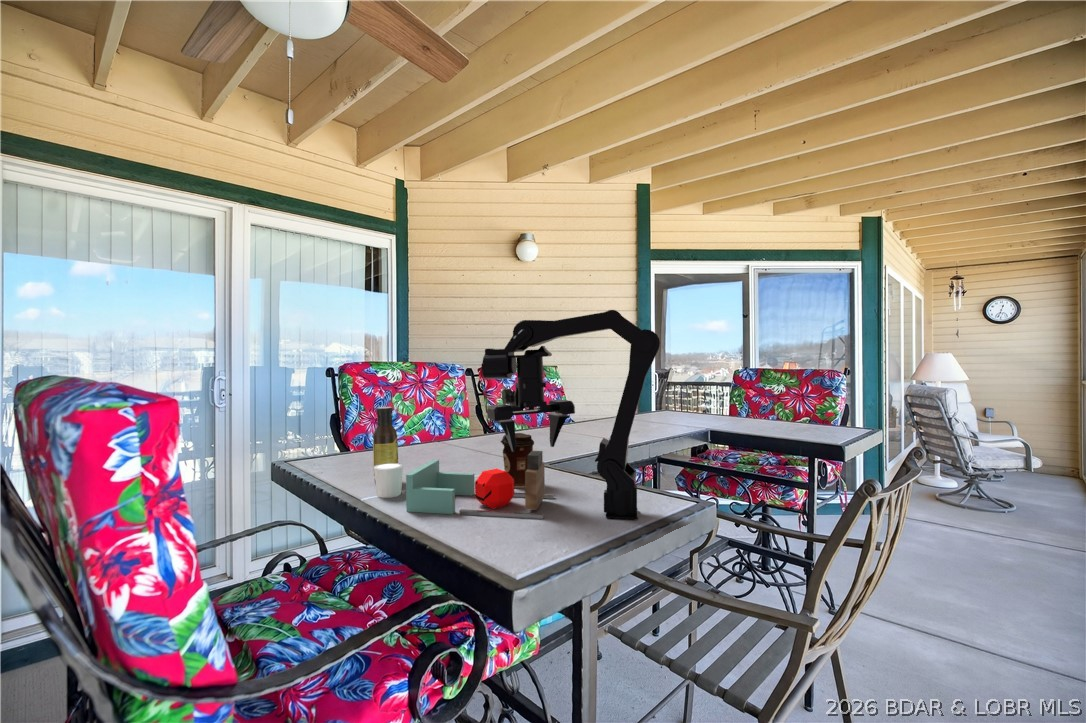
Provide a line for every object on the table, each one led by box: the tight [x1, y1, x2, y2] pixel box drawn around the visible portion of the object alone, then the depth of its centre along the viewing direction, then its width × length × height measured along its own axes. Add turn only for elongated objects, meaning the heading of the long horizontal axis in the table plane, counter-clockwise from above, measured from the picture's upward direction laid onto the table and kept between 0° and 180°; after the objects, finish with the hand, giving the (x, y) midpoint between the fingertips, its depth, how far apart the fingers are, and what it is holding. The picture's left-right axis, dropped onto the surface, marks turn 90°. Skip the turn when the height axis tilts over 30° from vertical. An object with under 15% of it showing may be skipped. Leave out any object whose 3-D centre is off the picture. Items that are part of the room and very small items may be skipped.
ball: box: [474, 468, 515, 510], centre depth 112 cm, size 8×8×8 cm
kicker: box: [524, 450, 546, 511], centre depth 110 cm, size 2×10×11 cm, turn 170°
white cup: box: [373, 462, 404, 499], centre depth 121 cm, size 7×7×7 cm
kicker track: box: [458, 491, 555, 520], centre depth 112 cm, size 18×15×1 cm
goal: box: [405, 459, 476, 515], centre depth 114 cm, size 10×15×8 cm
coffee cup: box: [500, 432, 535, 489], centre depth 129 cm, size 9×8×13 cm
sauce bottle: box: [372, 406, 399, 484], centre depth 132 cm, size 6×6×20 cm
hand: (533, 449), depth 109 cm, fingers open, 9 cm apart
